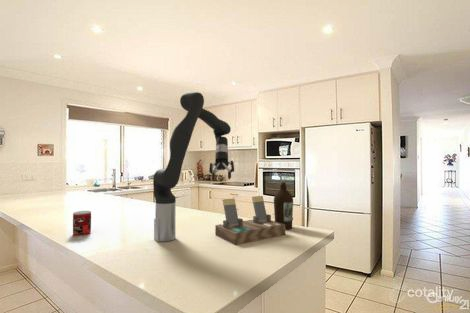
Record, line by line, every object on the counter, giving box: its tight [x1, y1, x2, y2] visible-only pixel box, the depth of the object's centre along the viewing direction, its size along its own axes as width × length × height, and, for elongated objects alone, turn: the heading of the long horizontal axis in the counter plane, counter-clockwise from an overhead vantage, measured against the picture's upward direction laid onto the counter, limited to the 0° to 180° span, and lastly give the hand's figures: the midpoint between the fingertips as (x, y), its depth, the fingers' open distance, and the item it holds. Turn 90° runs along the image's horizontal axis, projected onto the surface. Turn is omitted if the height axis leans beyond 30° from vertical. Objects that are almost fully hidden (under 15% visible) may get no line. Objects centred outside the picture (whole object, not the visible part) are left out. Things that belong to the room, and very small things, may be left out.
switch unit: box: [214, 213, 286, 246], centre depth 131 cm, size 30×18×8 cm, turn 122°
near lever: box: [222, 197, 239, 227], centre depth 130 cm, size 6×2×13 cm, turn 122°
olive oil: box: [273, 181, 294, 231], centre depth 146 cm, size 11×11×25 cm
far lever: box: [251, 195, 267, 222], centre depth 139 cm, size 6×2×13 cm, turn 122°
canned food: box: [72, 210, 92, 237], centre depth 133 cm, size 8×8×11 cm
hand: (221, 179), depth 147 cm, fingers open, 8 cm apart
